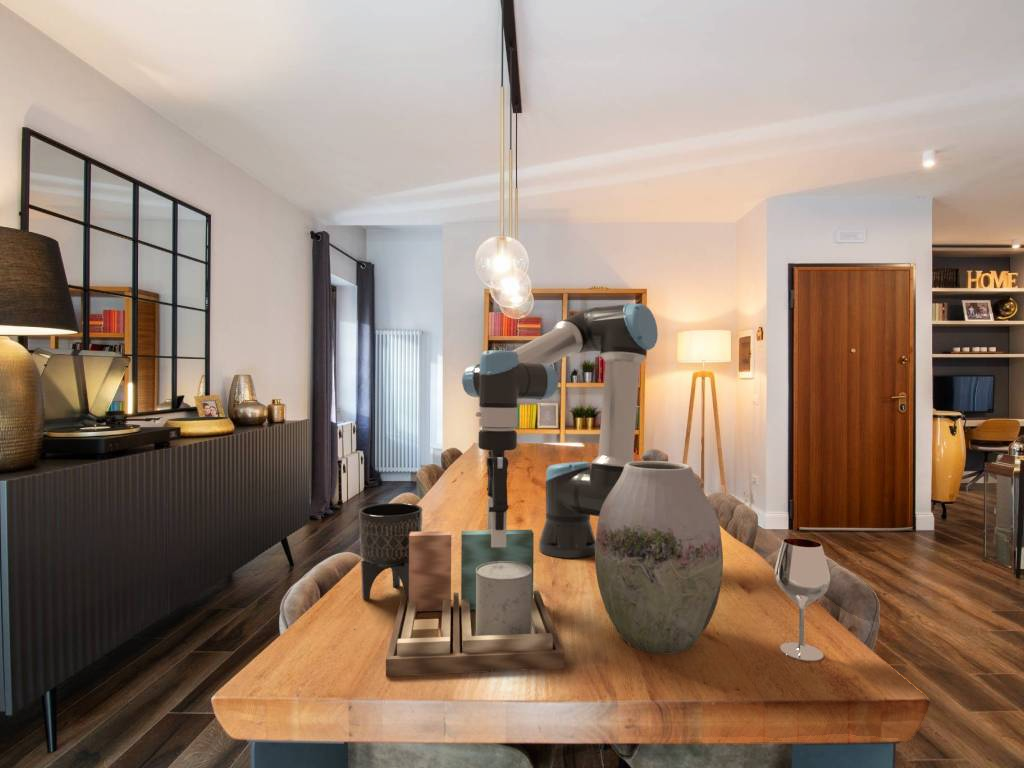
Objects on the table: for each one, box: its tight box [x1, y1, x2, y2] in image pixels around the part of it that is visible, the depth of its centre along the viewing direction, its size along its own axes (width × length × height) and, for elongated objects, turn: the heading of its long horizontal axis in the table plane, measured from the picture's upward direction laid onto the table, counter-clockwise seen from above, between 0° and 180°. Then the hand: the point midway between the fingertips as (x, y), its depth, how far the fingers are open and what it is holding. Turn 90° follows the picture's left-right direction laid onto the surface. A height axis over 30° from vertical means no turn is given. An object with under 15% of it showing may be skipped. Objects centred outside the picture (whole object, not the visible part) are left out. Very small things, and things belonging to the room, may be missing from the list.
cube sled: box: [397, 530, 452, 656], centre depth 101 cm, size 8×26×14 cm, turn 6°
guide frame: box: [385, 589, 565, 677], centre depth 101 cm, size 27×27×2 cm
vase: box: [594, 460, 724, 655], centre depth 100 cm, size 21×21×30 cm
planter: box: [358, 502, 423, 602], centre depth 120 cm, size 13×13×18 cm
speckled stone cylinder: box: [475, 561, 532, 636], centre depth 98 cm, size 10×10×12 cm
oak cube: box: [412, 618, 439, 638], centre depth 96 cm, size 4×4×4 cm
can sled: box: [460, 529, 553, 653], centre depth 102 cm, size 14×26×14 cm, turn 6°
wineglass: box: [774, 537, 831, 662], centre depth 95 cm, size 8×8×18 cm
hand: (496, 537), depth 113 cm, fingers open, 13 cm apart
